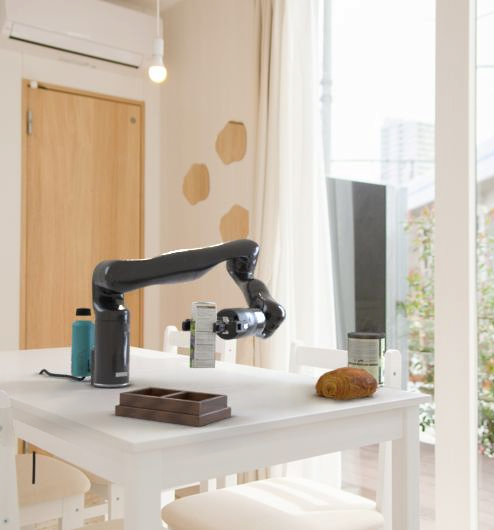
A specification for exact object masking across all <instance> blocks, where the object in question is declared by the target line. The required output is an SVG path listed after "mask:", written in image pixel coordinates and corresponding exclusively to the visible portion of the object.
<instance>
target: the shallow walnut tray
mask: <svg viewBox="0 0 494 530" xmlns="http://www.w3.org/2000/svg"><path fill="white" fill-rule="evenodd" d="M118 403H119V404H116V405H114V416H119V417H127V418H134V419H139V420H147V421H155V422H161V423H169V424H177V425H184V426H190V427H199V428H200V427H202V426H205V425H209V424H213V423H215V422H218V421H221V420H224V419H228V418H231V417H232V407H231V406H228V394H221V393H211V392H202V391H195V390H184V389H176V388H175V389H174V388H166V387H156V386H148V387H143V388H138V389H134V390H129V391H128V390H127V391H123V392H120V393H119V401H118Z"/></svg>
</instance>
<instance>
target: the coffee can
mask: <svg viewBox="0 0 494 530" xmlns="http://www.w3.org/2000/svg"><path fill="white" fill-rule="evenodd" d="M346 336H347V367H353V368H359V369H364V370H366V371H367V372H368V373H370V374H371V375H372V376H373V377H374V378H375V379H376V380H377V388H381V387H384V386H385V351H386V350H385V348H386V347H385V345H386V344H385V337H386V333H384V332H376V331H375V332H374V331H351V332H347V335H346Z"/></svg>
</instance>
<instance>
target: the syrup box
mask: <svg viewBox="0 0 494 530" xmlns="http://www.w3.org/2000/svg"><path fill="white" fill-rule="evenodd" d="M190 310H191V312H190V319H191V328H190V331H189V368H190V369H215V368H216V352H217V351H216V350H217V349H216V347H217V334H216V333H213V323H216V319H217V313H218V312H217V310H218V304H217V303H216V302H212V301H193V302H192V303H191V309H190Z"/></svg>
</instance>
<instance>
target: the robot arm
mask: <svg viewBox="0 0 494 530" xmlns="http://www.w3.org/2000/svg"><path fill="white" fill-rule="evenodd" d="M260 250H261V249H260V245H259V243H258V242H257V241H255V240H252V239H250V238H236V239H231V240H227V241H223V242H219V243H216V244H212V245H205V246H199V247H194V248H184V249H177V250H172V251H168V252H164V253H161V254H158V255H156V256H153V257H150V258H141V259H140V258H139V259H120V258H119V259H104V260H101V261H99V262H98V263H97V264H96V265H95V267H94V268H93V271H92V276H91V305H92V310H93V313H94V324H95V341H94V348H93V349H92V350H91V364H90V369H88V372H90V373H91V376H90V386H94V387H98V388H123V387H128V386H130V384H131V382H130V370H131V369H130V368H131V367H130V361H131V310H130V308H129V306H127V304H126V301H125V294H128V293H130V292H133V291H137V290H140V289H143V288H144V289H145V288H148V287H152V286H161V285H162V286H163V285H166V286H167V285H174V284H176V285H177V284H182V283H183V284H184V283H189V282H193V281H197V280H199V279H201V278H202V277H204V276H205V275H207V274H208V273H210V271H212V270H213V269H215V267H217V266H218V265H219V264H221V263H224V262H225V269H226V272H227V273H228V275H229V277H230V278H231V279H232V280H233V281H234V283H235V285H236V286H237V287H238V289H239V290H240V291H241V294H242V295H243V297H244V300H245V302H246V306H247V307H226V308H221V309H220V310H219V311H218V312H217V319H216V323H213V333H216V336H218V337H219V338H220V339H222V340H225V341H231V340H238V339H244V338H247V337H252V336H253V337H255V338H258V339H259V340H262V341H265V340H268V339H270V338H271V337H272V336H273V335H274V334H275V333H276V331H278V329H279V328H280V327H281V325H282V324H283V323H284V322H285V320H286V318H287V317H286V316H287V312H286V309H285V308H284V306H283V305H282V304H280V302H277V301H276V299H275V298H273V296H272V293H271V291H270V290H269V287H268V286H267V285H266V283H265V282H264V281H263V280H261V279H259V278H255V271H256V268H257V265H258V261H259V257H260ZM190 328H191V318H186V319H185V320H183V321H182V322H181V330H182V332H190ZM38 374H39V375H43V374H46V375H47V376H49V377H53V378H54V377H55V378H65V379H66V378H67V379H71V380H74V381H78V382H79V381H81V382H82V381H84V380H85V379H86V378H87V377H75V376H72V374H62V373H52V372H49V370H47V369H45V368H43V369H41V370H40V371H39V373H38ZM36 453H37V452H36V451H35V450H32V470H31V472H32V474H31V484H32V485H36V456H37V455H36Z"/></svg>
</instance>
